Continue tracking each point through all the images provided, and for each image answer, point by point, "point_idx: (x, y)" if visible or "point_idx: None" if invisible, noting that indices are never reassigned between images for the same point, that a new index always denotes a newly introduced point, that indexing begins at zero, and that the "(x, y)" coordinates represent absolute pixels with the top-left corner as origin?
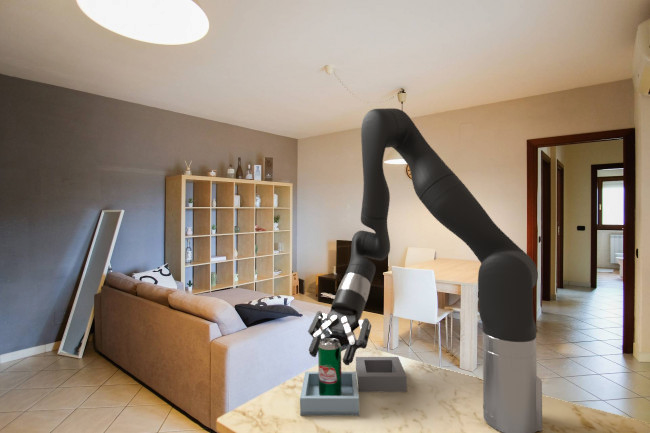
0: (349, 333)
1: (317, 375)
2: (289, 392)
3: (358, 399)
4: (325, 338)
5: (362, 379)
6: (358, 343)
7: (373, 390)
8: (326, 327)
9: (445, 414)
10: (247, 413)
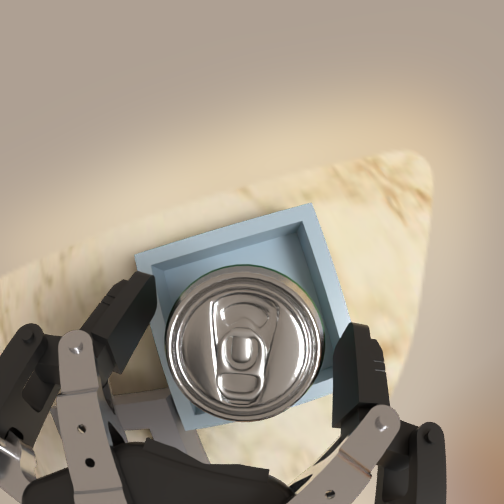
0: (73, 394)
1: (318, 380)
2: (379, 319)
3: (137, 254)
4: (294, 399)
5: (156, 397)
6: (50, 342)
7: (139, 392)
8: (311, 479)
9: (12, 314)
10: (416, 196)
